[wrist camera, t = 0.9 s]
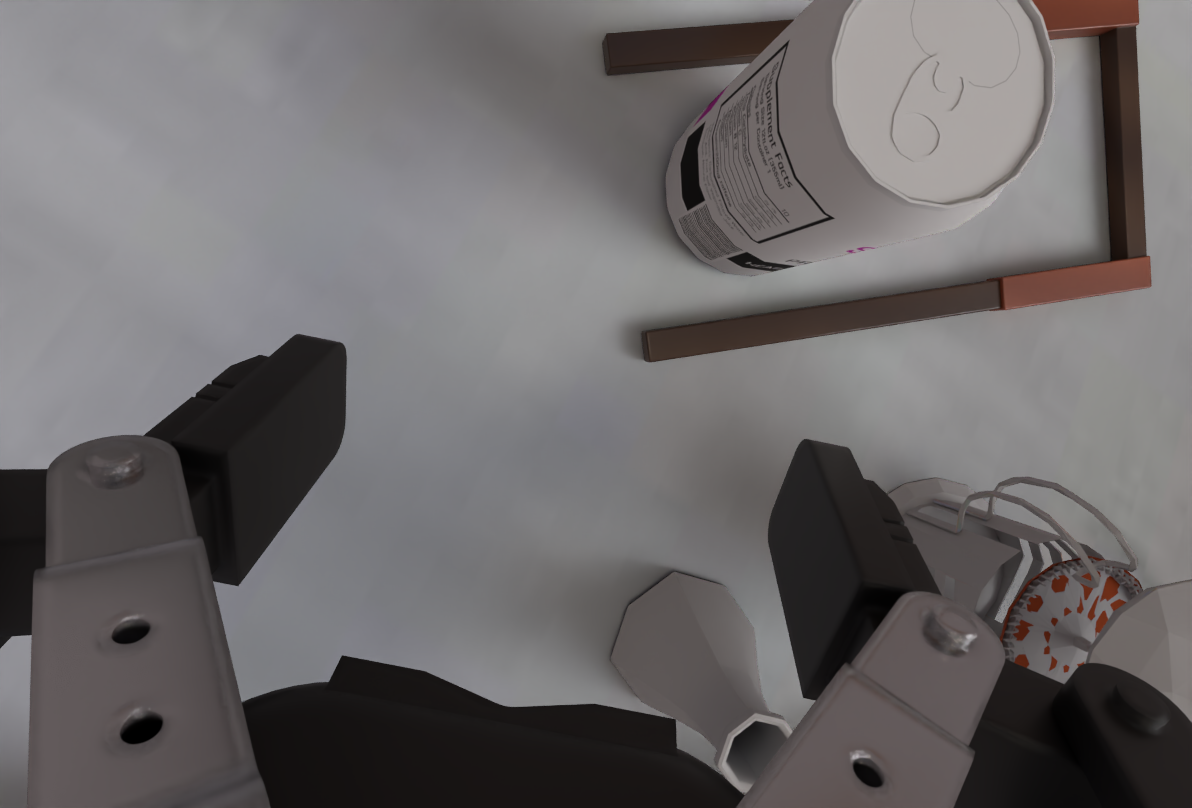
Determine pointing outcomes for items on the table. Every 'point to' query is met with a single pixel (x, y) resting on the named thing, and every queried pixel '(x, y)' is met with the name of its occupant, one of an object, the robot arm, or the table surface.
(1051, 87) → the supplement can
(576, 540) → the table surface
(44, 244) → the table surface
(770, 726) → the flask
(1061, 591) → the french press
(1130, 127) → the slide track
